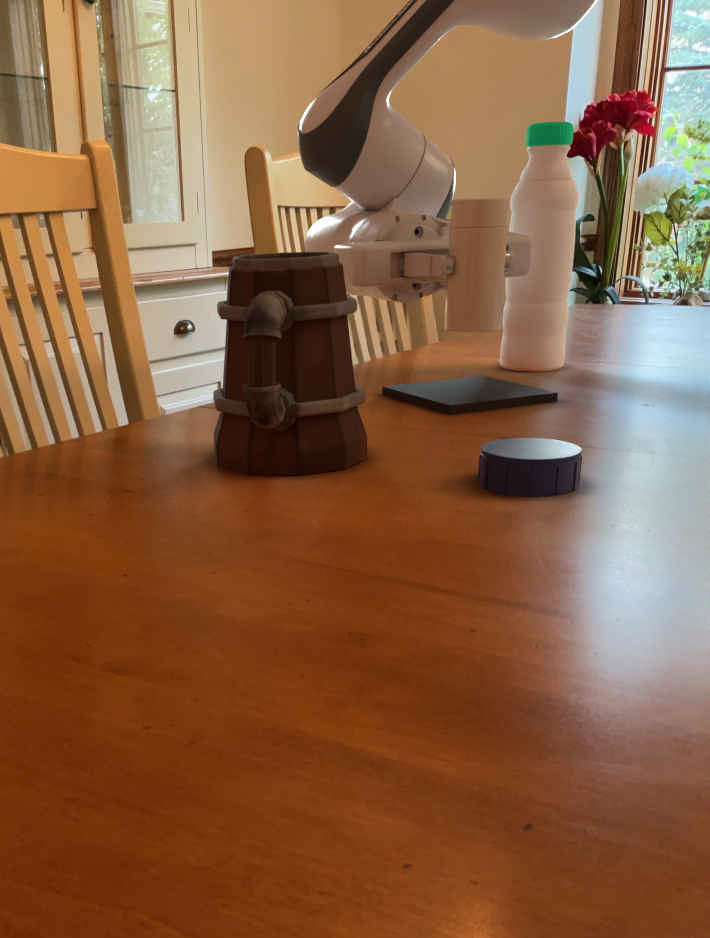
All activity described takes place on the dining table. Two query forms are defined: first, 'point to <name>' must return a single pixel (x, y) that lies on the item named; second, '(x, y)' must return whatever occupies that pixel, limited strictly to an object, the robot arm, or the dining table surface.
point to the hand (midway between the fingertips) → (479, 264)
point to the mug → (288, 368)
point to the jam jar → (476, 264)
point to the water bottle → (542, 253)
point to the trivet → (468, 394)
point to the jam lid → (530, 467)
